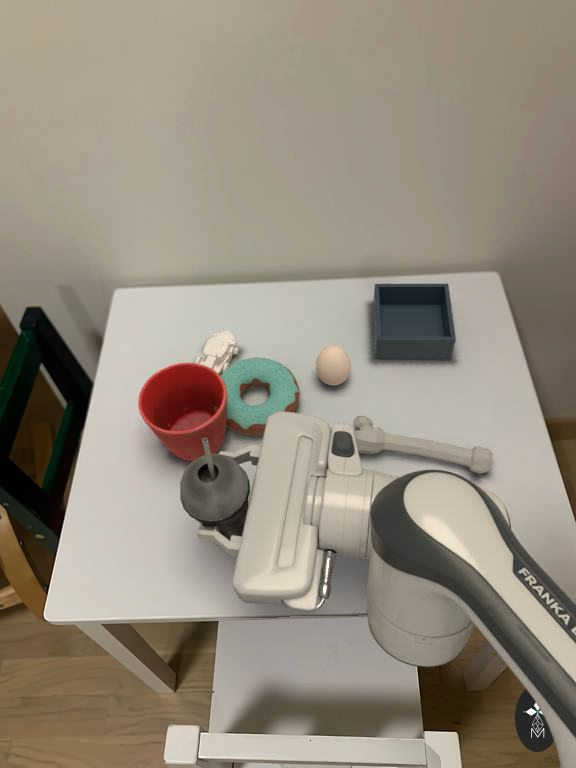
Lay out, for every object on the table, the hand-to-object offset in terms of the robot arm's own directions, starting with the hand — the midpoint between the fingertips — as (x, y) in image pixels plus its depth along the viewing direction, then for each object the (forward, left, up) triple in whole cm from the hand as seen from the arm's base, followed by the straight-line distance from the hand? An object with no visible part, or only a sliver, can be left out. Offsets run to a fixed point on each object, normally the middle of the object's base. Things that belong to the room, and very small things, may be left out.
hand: (209, 493), depth 62 cm
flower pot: (+10, -11, -12) cm, 19 cm away
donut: (+4, -19, -12) cm, 23 cm away
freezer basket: (-13, -38, -12) cm, 42 cm away
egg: (-5, -26, -12) cm, 29 cm away
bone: (-19, -18, -12) cm, 29 cm away
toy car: (+12, -24, -12) cm, 29 cm away
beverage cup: (-1, 0, -10) cm, 10 cm away
